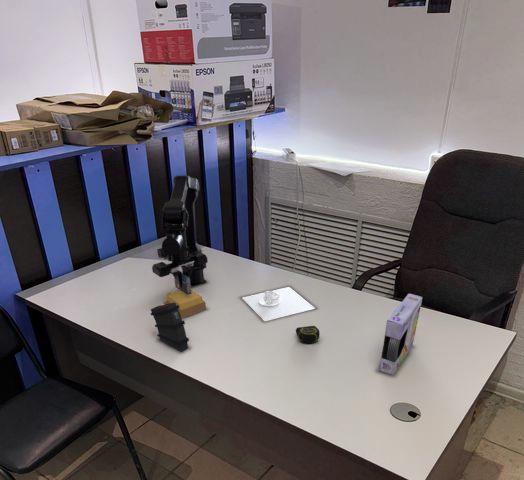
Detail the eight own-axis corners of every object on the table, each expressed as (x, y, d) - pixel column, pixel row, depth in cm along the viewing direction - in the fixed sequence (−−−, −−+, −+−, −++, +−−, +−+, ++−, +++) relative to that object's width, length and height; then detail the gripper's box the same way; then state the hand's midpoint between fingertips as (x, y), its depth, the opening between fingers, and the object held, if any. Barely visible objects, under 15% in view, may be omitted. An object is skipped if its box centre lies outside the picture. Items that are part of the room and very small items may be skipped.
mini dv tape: (175, 287, 175) (173, 271, 172) (179, 285, 176) (177, 270, 173) (187, 295, 170) (185, 279, 166) (191, 293, 170) (189, 277, 167)
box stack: (191, 299, 183) (189, 286, 180) (206, 309, 176) (204, 295, 173) (165, 309, 177) (163, 295, 174) (179, 319, 171) (177, 305, 168)
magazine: (186, 351, 150) (167, 306, 146) (164, 353, 160) (145, 310, 156) (195, 346, 152) (177, 301, 149) (173, 348, 162) (155, 306, 159)
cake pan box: (393, 378, 139) (401, 324, 130) (376, 373, 142) (383, 319, 132) (414, 347, 153) (423, 295, 143) (398, 342, 155) (406, 291, 146)
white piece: (276, 295, 185) (276, 285, 182) (286, 304, 178) (286, 293, 176) (254, 300, 181) (254, 290, 179) (264, 309, 175) (263, 299, 173)
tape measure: (315, 333, 161) (316, 323, 159) (321, 344, 155) (322, 334, 153) (295, 335, 160) (295, 325, 158) (300, 346, 154) (300, 336, 152)
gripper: (189, 231, 174) (193, 271, 182) (141, 244, 164) (147, 286, 172) (206, 239, 166) (210, 281, 175) (157, 253, 157) (163, 297, 165)
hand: (183, 286), depth 172 cm, fingers closed on mini dv tape, 1 cm apart
